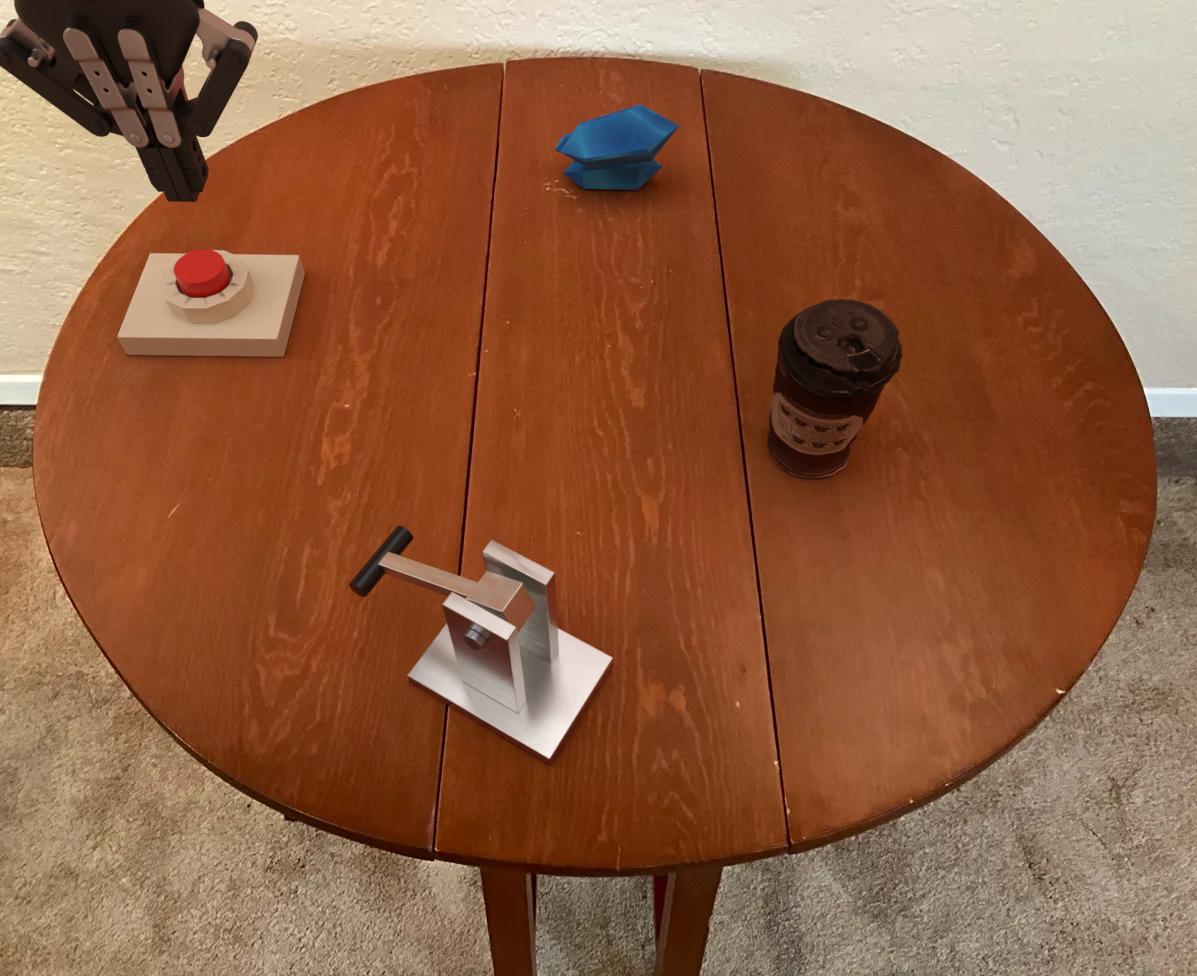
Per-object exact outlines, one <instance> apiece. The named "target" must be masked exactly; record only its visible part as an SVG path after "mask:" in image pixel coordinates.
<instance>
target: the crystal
mask: <svg viewBox="0 0 1197 976" xmlns="http://www.w3.org/2000/svg"><path fill="white" fill-rule="evenodd" d="M679 127H680V125H679V124H678V123H675V122H673V121H671V120H670V119H668V118H667V117H664V116H662V115H661V114H659V113H657V112H655V111H654V110H652V109H650V108H649V107H647V106H645V105H644V104H642V103H640V104H637V105H633V106H630V107H626V108H624V109H621V110H617V111H614V112H611V113H607V114H605V115H601V116H598V117H595V118H592V119H588V120H586V121H585V120H584V121H582V122H580V123H578V124H577V125H576V127H575V128H574V130H573V131H571V132H568V133H567V134H565V135H563V136H561V137H560V139H559V140H558V143H557V144H556V146H555V148H554V152H558V153H562V154H563V155H564V156H566V157H567V158H570V159H571V160H574V161H573V162H571V163H570V165H569V166H567V168H566V169H564V171H563V172H562V174H564V175H565V176H566V177H567V178H568V179H570V180H571V181H572V182H573V183H574V184H576V185H577V186H579V187H580V188H581V189H582V190H604V191H605V190H606V191H607V190H610V191H611V190H613V191H639V189H640V188H641V187H642V186H643V185H645V184H646V182H648V181H649V180H650V179H651V178H652V177H653V176H655V174H657V173H658V172H659V171H660V170H661V169H662V168H663V166H662V165H661V164H660V163H659V162H657V161H656V160H654V159H655V158H656V157H657V155H658V154H659V153H660V151H661V150H662V149H663V147H664V146H665V145H666V144H667V142H668V141H669V140H670V138H671V137H672V136H673V135H674V134H675V132H676V131H677V130H678V128H679Z"/></svg>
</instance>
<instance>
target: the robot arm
mask: <svg viewBox="0 0 1197 976" xmlns="http://www.w3.org/2000/svg"><path fill="white" fill-rule="evenodd" d="M13 6H14V10H15V13H16V15H17V16H18V17H17V18H12V19H10V20H9V21H8V23H7V24H6V26H5V27H4V28H3V29H2V31H1V32H0V68H2V69H3V70H5V71H6V72H7V73H9V74H10V75H12V77H15V78H16V79H17V80H18V81H20V82H21V83H22V84H23V85H25V86H27V87H28V88H29V89H30V90H32V91H33V92H35V93H36V94H38V95H39V96H40V97H41V98H42V99H44V100H45V101H47V102H48V103H49V104H51V105H52V106H54V107H55V108H56V109H58V110H60V112H62V113H63V114H64V115H66V116H67V117H69V118H70V119H71V120H73V121H74V122H75V123H77V124H78V125H79V126H80V127H82V128H83V129H85V130H86V131H88V132H89V133H91V134H92V135H93V136H95V137H99V138H104V137H107V136H109V135H110V134H113V135H116V136H121V137H123V138H124V139H125V141H126V142H127V143H129V145H130V146H132V147H135V150H136V152H137V155H138V157H139V159H140V161H141V164H142V166H143V168H144V171H145V173H146V175H147V178H148V180H149V182H150V184H151V186H152V187H153V188H154V189H155V190H156V191H157V192H158V193H163V195H164V197H165V199H166V201H168V202H169V203H171V202H172V203H173V202H175V203H196V202H197V201H198V198H199V196H200V193H203V192H204V189H205V186H206V183H207V180H208V177H209V166H208V163H207V161H206V158H205V155H204V154H203V150H202V147H201V144H200V142H199V139H198V137H199V138H207V137H210V135H212V132H213V131H214V129H215V127H216V126H217V124H218V121H219V120H220V118H221V116H222V114H223V112H224V111H225V109H226V107H227V105H228V104H229V101H230V99H231V98H232V96H233V94H234V92H235V91H236V89H237V86H238V85H239V83H240V81H241V79H242V77H243V76H244V73H245V72H246V70H247V68H248V66H249V64H250V60H251V58H252V55H253V52H254V49H255V47H256V44H257V42H258V38H259V34H258V29H256V27H255V26H254V25H253V24H252V23H250V22H249V21H244V20H239V21H237V22H235V23H234V24H233V25H232V24H231V23H229V22H227V21H226V20H224V19H222V18H221V17H219V16H218V15H216V14H215V13H213V12H211V11H209V9H207V8H206V7H205V0H13ZM196 36H197V37H198V39H200V42H201V44H202V48H201V49H202V50H201V56H202V59H203V60H204V61H205V65H206V67H207V68H209V69H210V71H209V72H208V75H207V77H206V78H205V80H204V83H203V85H202V87H201V88H200V89H199V92H198V94H197V96H196V97H193V98H191V99H189V97H188V93H187V90H186V87H185V69H184V66H183V65H184V62H185V60H186V57H187V55H188V53H189V50H190V48H191V46H192V44H193V41H194V39H195V37H196Z"/></svg>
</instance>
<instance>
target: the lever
mask: <svg viewBox="0 0 1197 976" xmlns="http://www.w3.org/2000/svg"><path fill="white" fill-rule="evenodd" d="M413 540H414V535H413V534H412V532H411V531H410V530H409V529H408V528H406V527H404V526H402V525H397V526H396V527H395V528H394V529H393V531H391V532H390V534H389V536H388V537H387V538H386V539H385V540H384V542H383V543H381V545H380V546H379V547H378V548H377V550H376V551H375V552H374V553H373V554H372V556H371V557H370V558H369V559H368V560H367V561H366V563H365V564H364V565H363V566H362V568H361V569H360V570H359V571H358V572H357V574H356V575H355V576H354V577H353V578H352V579H351V581H350V582H349V583H348V587H349V588H350V589H351V591H352V592H353V593H355V594H356V595H358V596H360V597H362V598H367V596H368V595H369V594H370V592H372V590H373V589H374V588H375V586H377V584H378V583H379V582H380V580H382V579H383V577H384V576H385V575H387V576H390V577H393V578H395V579H398V580H401V581H404V582H407V583H409V584H412V585H415V586H417V587H421V588H424V589H426V590H428V591H431V592H434V593H437V594H440V595H442V596H446V597H448V596H449V595H450V593H451V592H454V593H456V594H458V595H460V596H462V597H463V598H465V599H467V600H469V601H471V602H472V603H474V604H476V605H478V606H480V607H482V608H483V609H485V610H487V611H489V612H491V613H492V614H494V615H496V616H498V617H500V618H502V619H503V620H505V621H507V622H509V623H511V624H513V625H514V626H516V627H517V633H519V632H520V630H521V629H522V627H523V626H524V624H525V623H526V621H527V620H528V619H529V617H530V616H531V614H532V613H533V611H534V610H535V609H536V605H535V604H534V602H533V600H532V598H531V596H530V594H529V593H528V591H527V589H526V587H525V585H524V583H522V582H520V581H517V580H513V579H510V578H507V577H504V576H501V575H498V574H495V573H492V572H489V571H486V570H485V572H484V573H483V575H482V576H481V577H480V579H479V580H478V581H475V580H472V579H469V578H467V577H464V576H461V575H458V574H455V573H451V572H449V571H446V570H443V569H441V568H439V567H434V566H432V565H429V564H427V563H426V564H425V563H422V562H420V561H418V560H414V559H411V558H409V557H405V556H402V554H403V552H404V551H405V550H406V548H408V546H409V545H410V544H411V542H412V541H413Z"/></svg>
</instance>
